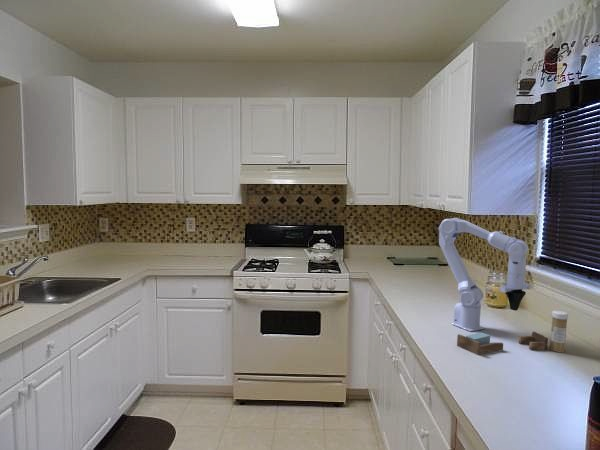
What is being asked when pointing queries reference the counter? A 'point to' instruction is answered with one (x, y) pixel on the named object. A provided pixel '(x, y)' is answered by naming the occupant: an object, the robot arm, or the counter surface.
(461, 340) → the endcap rail
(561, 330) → the sprinkles bottle
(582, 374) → the counter surface
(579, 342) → the counter surface
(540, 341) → the brown stepped block
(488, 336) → the pale teal block
